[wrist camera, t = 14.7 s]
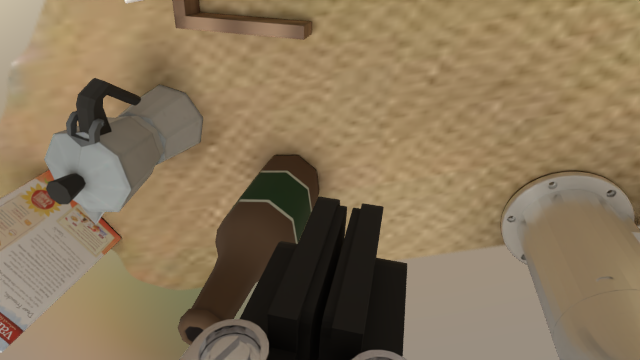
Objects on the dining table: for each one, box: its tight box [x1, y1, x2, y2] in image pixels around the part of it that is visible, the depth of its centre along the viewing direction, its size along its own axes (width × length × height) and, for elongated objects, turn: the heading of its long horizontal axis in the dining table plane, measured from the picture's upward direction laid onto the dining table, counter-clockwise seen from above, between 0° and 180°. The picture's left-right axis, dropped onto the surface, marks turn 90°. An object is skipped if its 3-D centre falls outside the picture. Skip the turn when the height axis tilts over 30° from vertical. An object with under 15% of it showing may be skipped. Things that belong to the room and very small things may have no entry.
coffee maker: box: [44, 78, 203, 224], centre depth 41 cm, size 15×9×18 cm, turn 165°
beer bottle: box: [178, 155, 319, 345], centre depth 39 cm, size 8×8×24 cm
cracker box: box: [0, 170, 121, 352], centre depth 52 cm, size 14×6×21 cm, turn 35°
